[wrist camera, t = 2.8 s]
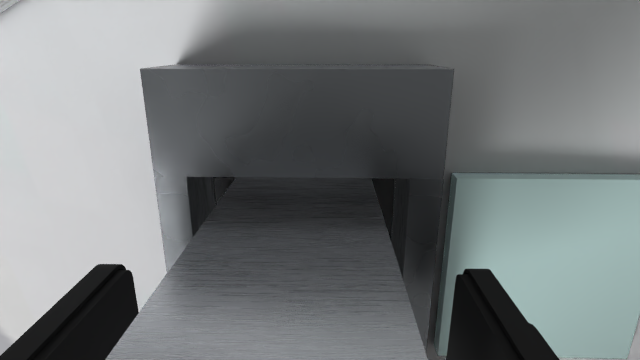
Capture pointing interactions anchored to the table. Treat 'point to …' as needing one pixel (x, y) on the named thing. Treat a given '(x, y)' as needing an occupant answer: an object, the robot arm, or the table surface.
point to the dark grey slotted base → (303, 143)
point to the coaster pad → (550, 254)
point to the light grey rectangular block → (282, 281)
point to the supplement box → (6, 4)
